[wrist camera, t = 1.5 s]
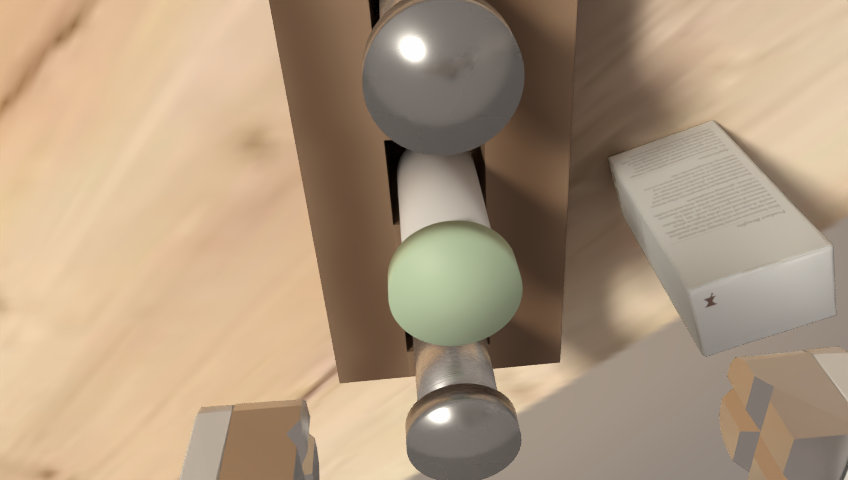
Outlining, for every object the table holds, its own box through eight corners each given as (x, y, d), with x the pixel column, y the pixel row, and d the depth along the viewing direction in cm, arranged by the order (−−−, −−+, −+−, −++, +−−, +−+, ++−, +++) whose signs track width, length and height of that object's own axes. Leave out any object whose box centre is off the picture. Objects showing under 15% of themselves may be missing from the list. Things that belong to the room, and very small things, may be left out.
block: (549, -146, 31) (583, -126, 26) (538, 294, 45) (559, 362, 40) (269, -122, 31) (250, -97, 26) (342, 312, 45) (339, 383, 40)
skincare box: (621, 216, 42) (699, 361, 32) (605, 155, 40) (684, 290, 30) (726, 180, 41) (840, 318, 31) (716, 115, 39) (835, 242, 29)
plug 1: (482, -74, 28) (525, -7, 20) (485, 48, 31) (524, 148, 23) (356, -63, 28) (352, 8, 20) (370, 58, 31) (371, 162, 23)
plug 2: (489, 264, 37) (521, 399, 29) (491, 336, 40) (521, 477, 32) (394, 273, 37) (401, 411, 29) (403, 345, 40) (411, 487, 32)
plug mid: (486, 119, 32) (523, 233, 25) (488, 210, 35) (522, 339, 28) (378, 128, 32) (381, 246, 25) (389, 220, 35) (394, 351, 27)
